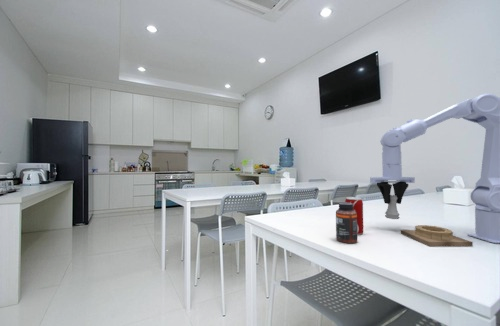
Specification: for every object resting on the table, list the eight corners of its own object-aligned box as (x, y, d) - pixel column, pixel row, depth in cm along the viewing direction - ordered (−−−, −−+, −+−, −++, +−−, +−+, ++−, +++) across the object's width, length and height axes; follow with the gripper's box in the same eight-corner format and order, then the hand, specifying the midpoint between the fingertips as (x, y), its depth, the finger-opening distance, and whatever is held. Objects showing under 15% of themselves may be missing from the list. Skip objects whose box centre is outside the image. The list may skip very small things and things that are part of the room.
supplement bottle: (357, 239, 68) (356, 202, 69) (357, 245, 63) (357, 205, 63) (336, 236, 71) (336, 201, 71) (335, 242, 66) (334, 204, 66)
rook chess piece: (402, 219, 75) (402, 196, 75) (387, 218, 76) (388, 195, 76) (396, 217, 80) (396, 194, 80) (382, 216, 81) (383, 194, 81)
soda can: (342, 232, 75) (341, 197, 76) (350, 229, 79) (350, 195, 79) (358, 236, 71) (357, 199, 71) (366, 233, 74) (365, 197, 75)
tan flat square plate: (436, 233, 74) (436, 223, 74) (472, 246, 62) (472, 234, 62) (400, 233, 74) (400, 223, 74) (429, 246, 62) (429, 234, 62)
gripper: (404, 165, 82) (405, 201, 82) (365, 165, 82) (366, 201, 82) (418, 164, 75) (419, 204, 75) (376, 164, 75) (376, 204, 75)
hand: (392, 203), depth 78 cm, fingers closed on rook chess piece, 3 cm apart
